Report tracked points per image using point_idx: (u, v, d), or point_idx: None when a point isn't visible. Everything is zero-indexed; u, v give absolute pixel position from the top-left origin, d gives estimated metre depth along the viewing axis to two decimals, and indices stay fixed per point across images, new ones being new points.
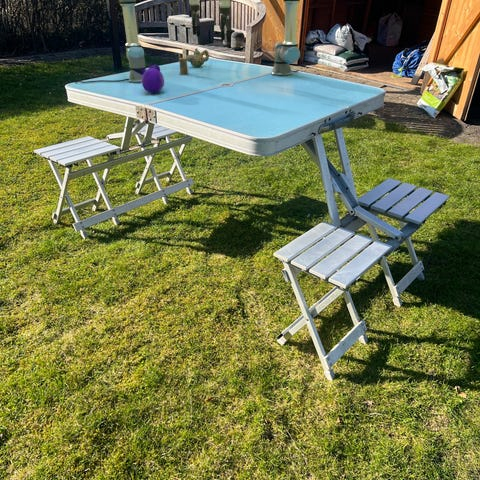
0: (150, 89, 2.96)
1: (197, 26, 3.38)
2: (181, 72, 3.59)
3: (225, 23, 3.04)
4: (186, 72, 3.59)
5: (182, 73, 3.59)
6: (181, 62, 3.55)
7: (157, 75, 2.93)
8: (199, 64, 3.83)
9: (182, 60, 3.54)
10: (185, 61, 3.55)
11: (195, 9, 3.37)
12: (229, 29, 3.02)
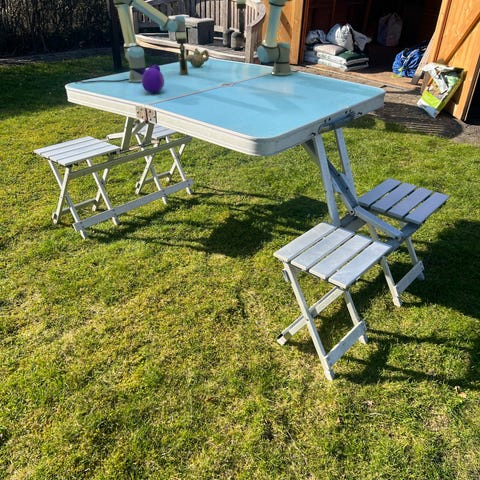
0: (150, 89, 2.96)
1: None
2: (181, 72, 3.59)
3: (240, 17, 3.50)
4: (186, 72, 3.59)
5: (182, 73, 3.59)
6: (181, 62, 3.55)
7: (157, 75, 2.93)
8: (199, 64, 3.83)
9: None
10: (185, 61, 3.55)
11: None
12: (242, 22, 3.47)
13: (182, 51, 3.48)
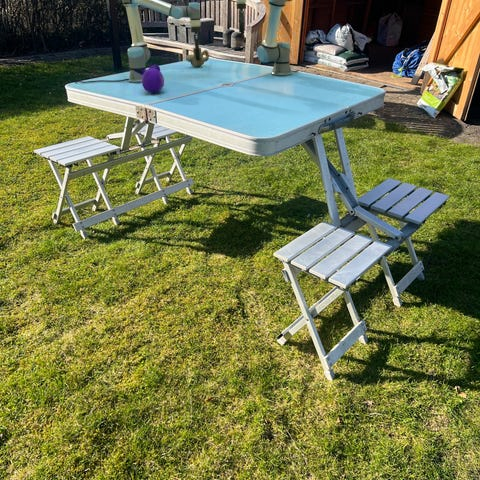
0: (150, 89, 2.96)
1: None
2: (195, 62, 3.40)
3: (240, 17, 3.50)
4: (200, 62, 3.41)
5: (196, 63, 3.41)
6: (195, 52, 3.37)
7: (157, 75, 2.93)
8: None
9: None
10: (199, 51, 3.37)
11: None
12: (242, 22, 3.47)
13: (197, 40, 3.29)
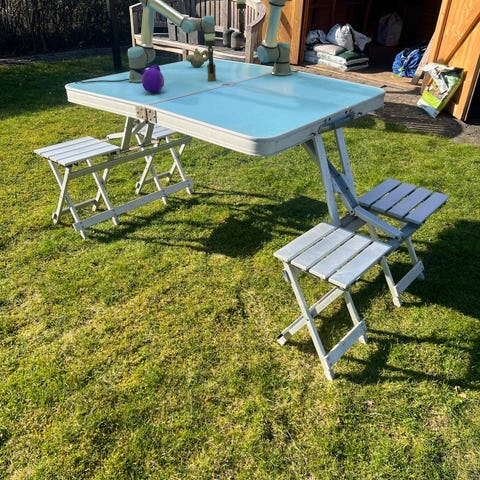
0: (150, 89, 2.96)
1: None
2: (209, 78, 3.34)
3: (240, 17, 3.50)
4: (214, 78, 3.34)
5: (210, 80, 3.34)
6: (209, 68, 3.30)
7: (157, 75, 2.93)
8: (199, 64, 3.83)
9: None
10: None
11: None
12: (242, 22, 3.47)
13: (211, 52, 3.21)
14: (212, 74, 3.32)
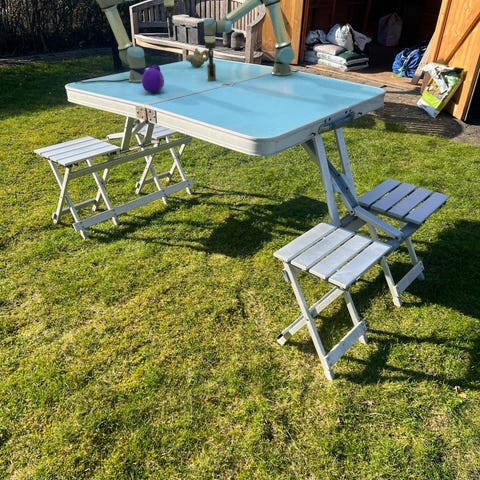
0: (150, 89, 2.96)
1: (172, 25, 3.57)
2: (209, 78, 3.34)
3: (209, 58, 3.26)
4: (214, 78, 3.34)
5: (210, 80, 3.34)
6: (209, 68, 3.30)
7: (157, 75, 2.93)
8: (199, 64, 3.83)
9: None
10: (213, 67, 3.30)
11: None
12: (211, 65, 3.26)
13: (170, 17, 3.40)
14: None
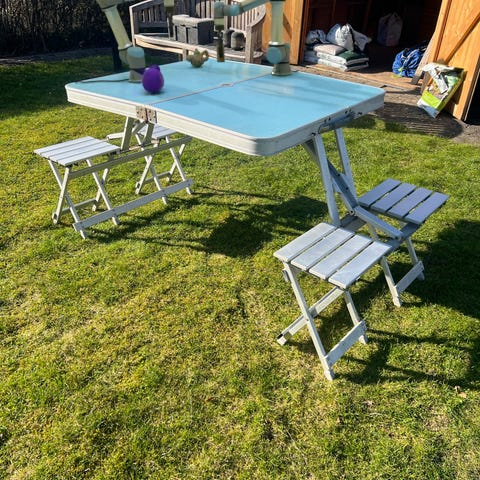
0: (150, 89, 2.96)
1: (172, 25, 3.57)
2: (218, 60, 3.51)
3: (218, 40, 3.44)
4: (223, 60, 3.51)
5: (219, 61, 3.51)
6: (218, 49, 3.47)
7: (157, 75, 2.93)
8: (199, 64, 3.83)
9: None
10: (223, 48, 3.47)
11: None
12: (220, 46, 3.43)
13: (170, 17, 3.40)
14: None
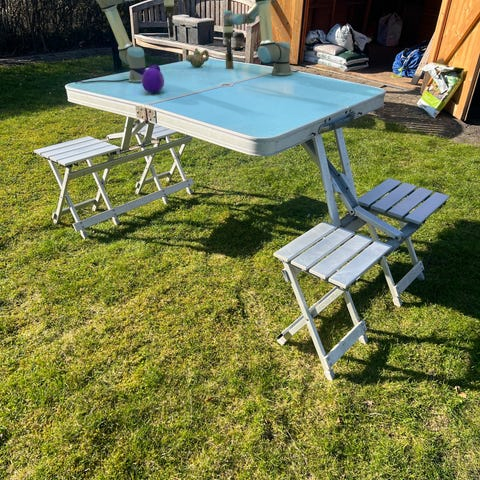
0: (150, 89, 2.96)
1: (172, 25, 3.57)
2: (227, 66, 3.78)
3: (227, 45, 3.68)
4: (232, 66, 3.78)
5: (228, 67, 3.78)
6: (227, 57, 3.74)
7: (157, 75, 2.93)
8: (199, 64, 3.83)
9: None
10: (231, 56, 3.74)
11: None
12: (229, 51, 3.65)
13: (170, 17, 3.40)
14: (230, 62, 3.76)
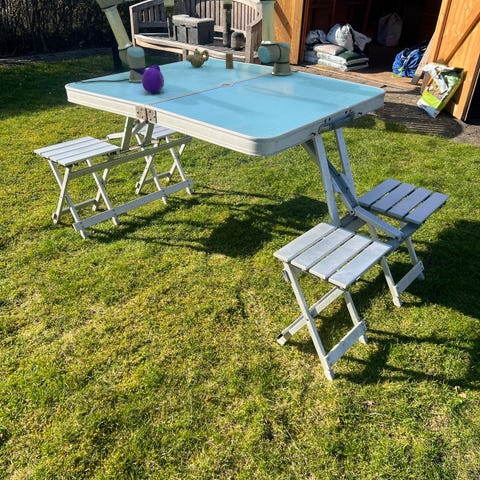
0: (150, 89, 2.96)
1: (172, 25, 3.57)
2: (227, 66, 3.78)
3: (227, 17, 3.58)
4: (232, 66, 3.78)
5: (228, 67, 3.78)
6: (227, 57, 3.74)
7: (157, 75, 2.93)
8: (199, 64, 3.83)
9: (228, 55, 3.73)
10: (231, 56, 3.74)
11: None
12: (228, 22, 3.54)
13: (170, 17, 3.40)
14: (230, 62, 3.76)
